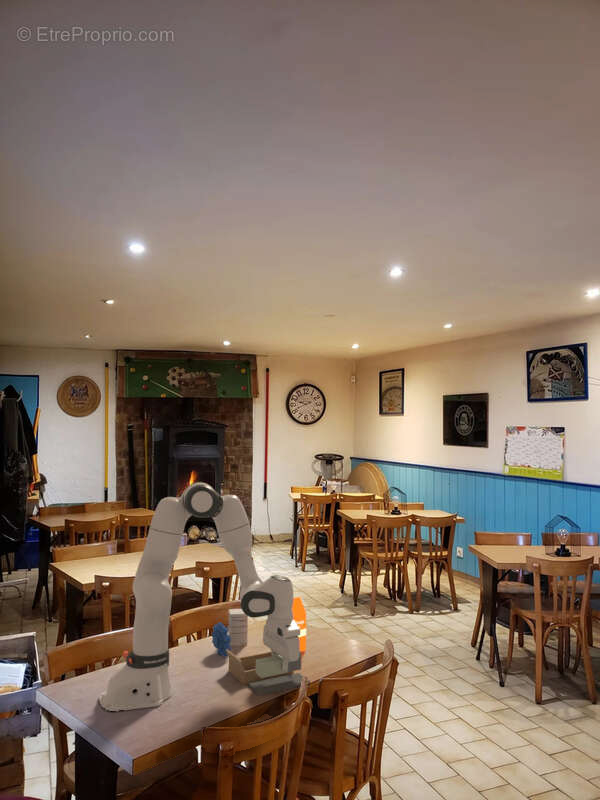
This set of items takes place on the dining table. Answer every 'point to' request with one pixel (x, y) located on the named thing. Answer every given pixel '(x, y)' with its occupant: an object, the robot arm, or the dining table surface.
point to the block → (275, 666)
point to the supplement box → (238, 627)
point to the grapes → (221, 639)
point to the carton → (245, 662)
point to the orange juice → (300, 621)
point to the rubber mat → (277, 684)
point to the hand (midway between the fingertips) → (280, 666)
